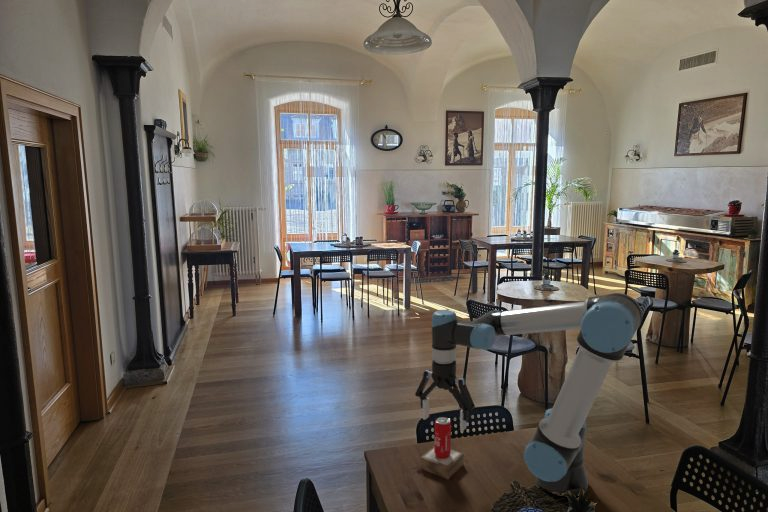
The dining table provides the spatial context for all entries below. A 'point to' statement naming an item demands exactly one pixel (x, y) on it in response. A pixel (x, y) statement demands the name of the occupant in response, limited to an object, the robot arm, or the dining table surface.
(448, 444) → the beverage can
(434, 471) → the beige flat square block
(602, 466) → the dining table surface
